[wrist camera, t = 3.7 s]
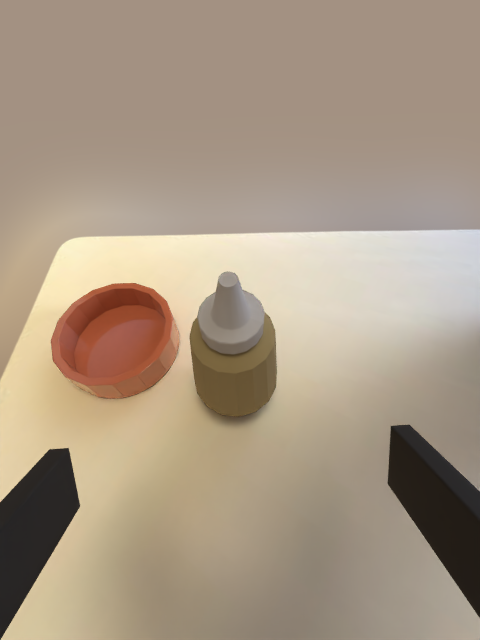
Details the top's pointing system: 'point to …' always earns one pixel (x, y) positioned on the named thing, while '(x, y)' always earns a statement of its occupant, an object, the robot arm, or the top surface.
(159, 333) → the holder
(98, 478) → the top surface
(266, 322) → the squeeze bottle
